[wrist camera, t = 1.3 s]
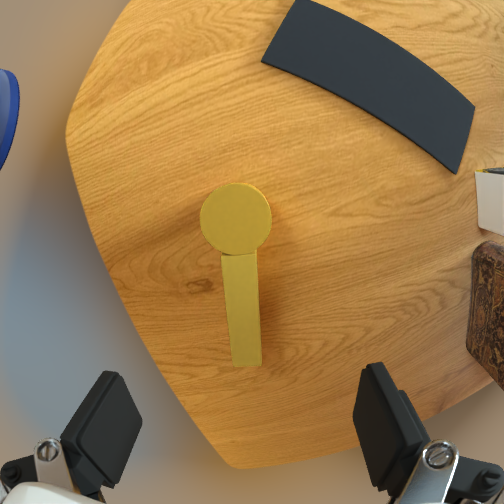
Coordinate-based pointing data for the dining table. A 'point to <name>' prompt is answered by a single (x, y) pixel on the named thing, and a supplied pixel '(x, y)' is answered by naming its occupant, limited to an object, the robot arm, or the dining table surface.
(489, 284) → the book
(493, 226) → the medicine bottle
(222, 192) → the yellow disc-ended bar
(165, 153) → the dining table surface
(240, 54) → the dining table surface
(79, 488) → the robot arm
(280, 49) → the mat
